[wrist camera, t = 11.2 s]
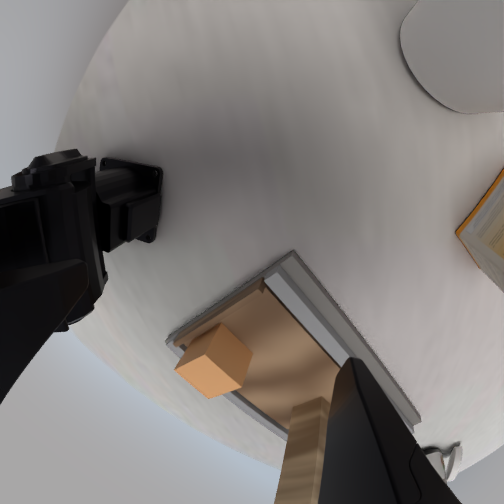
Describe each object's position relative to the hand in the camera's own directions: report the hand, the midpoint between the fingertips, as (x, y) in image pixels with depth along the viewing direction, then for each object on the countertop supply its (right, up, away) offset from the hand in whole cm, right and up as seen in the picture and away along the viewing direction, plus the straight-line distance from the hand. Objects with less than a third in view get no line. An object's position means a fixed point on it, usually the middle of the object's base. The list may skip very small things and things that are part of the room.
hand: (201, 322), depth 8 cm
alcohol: (+16, +16, +4) cm, 23 cm away
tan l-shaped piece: (+4, -9, +16) cm, 19 cm away
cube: (-1, -6, +15) cm, 17 cm away
